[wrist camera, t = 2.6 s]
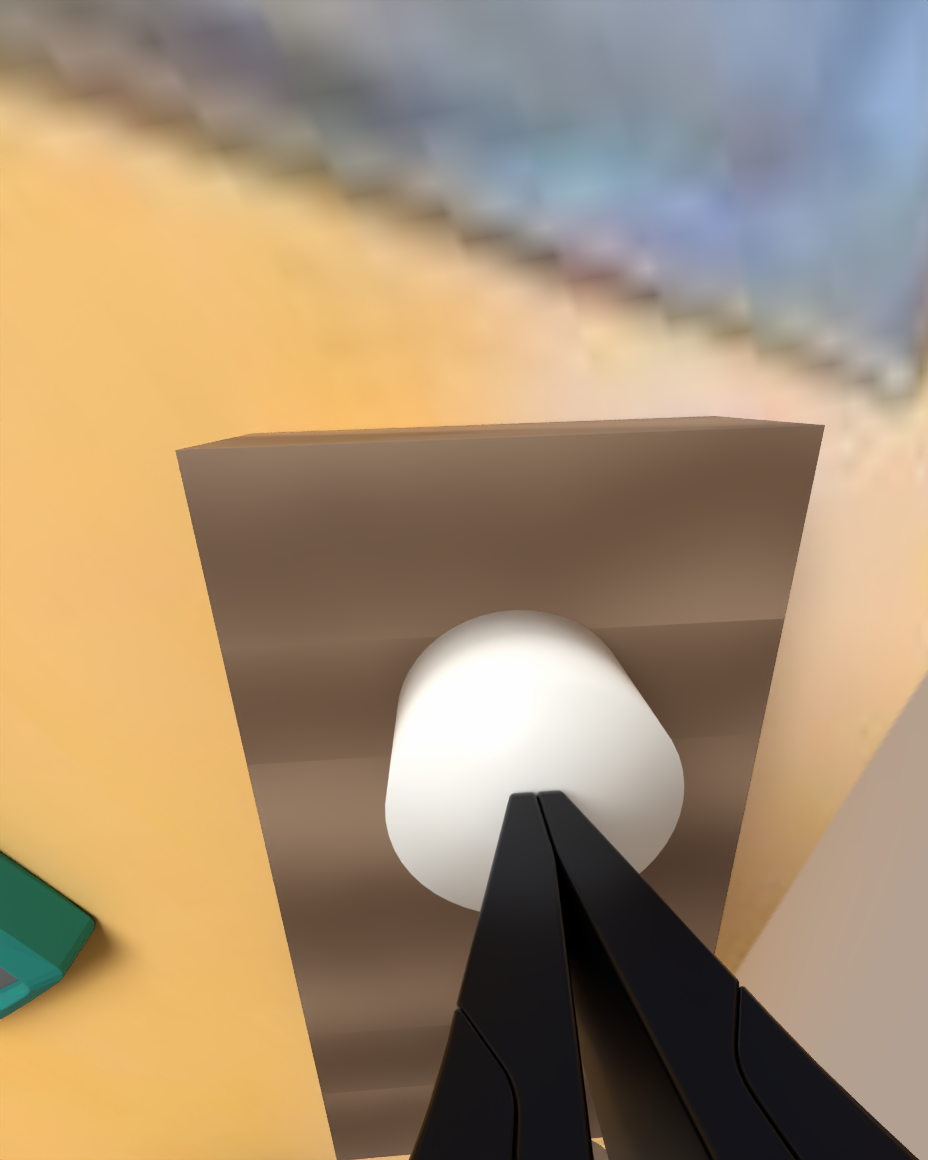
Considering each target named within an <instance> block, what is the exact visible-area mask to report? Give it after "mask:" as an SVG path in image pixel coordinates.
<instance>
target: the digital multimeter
mask: <svg viewBox="0 0 928 1160" xmlns="http://www.w3.org/2000/svg"><path fill="white" fill-rule="evenodd" d="M94 929H95V923H94V921H93V919H92V918H91V917H90V916H89V915H88V914H87V913H85V912H84V911H83V910H81V909H80V908H79V907H77V906H76V905H75V904H73V903H72V902H71V901H69V900H68V899H67V898H65V897H64V896H63V895H61V894H60V893H59V892H57V891H56V890H55V889H53V888H52V887H50V886H49V885H47V884H46V883H44V882H43V881H42V880H40V879H39V878H37V877H36V876H34V875H33V874H31V873H30V872H29V871H27V870H26V869H24V868H23V867H21V866H20V865H18V864H17V863H16V862H14V861H13V860H11V859H10V858H8V857H7V856H6V855H4V854H3V853H1V852H0V1019H2V1018H4V1017H5V1016H7V1015H9V1014H10V1013H12V1012H14V1011H15V1010H17V1009H19V1008H20V1007H22V1006H23V1005H25V1004H27V1003H28V1002H30V1001H31V1000H33V999H34V998H36V997H37V996H39V995H40V994H42V993H43V992H45V991H46V990H48V989H49V988H51V987H52V986H54V985H55V984H57V983H58V982H59V981H60V980H61V979H62V978H63V977H64V975H65V974H66V972H67V971H68V969H69V967H70V966H71V964H72V963H73V961H74V960H75V958H76V957H77V955H78V953H79V952H80V950H81V949H82V947H83V946H84V944H85V943H86V941H87V939H88V938H89V936H90V935H91V933H92V932H93V930H94Z"/></svg>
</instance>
